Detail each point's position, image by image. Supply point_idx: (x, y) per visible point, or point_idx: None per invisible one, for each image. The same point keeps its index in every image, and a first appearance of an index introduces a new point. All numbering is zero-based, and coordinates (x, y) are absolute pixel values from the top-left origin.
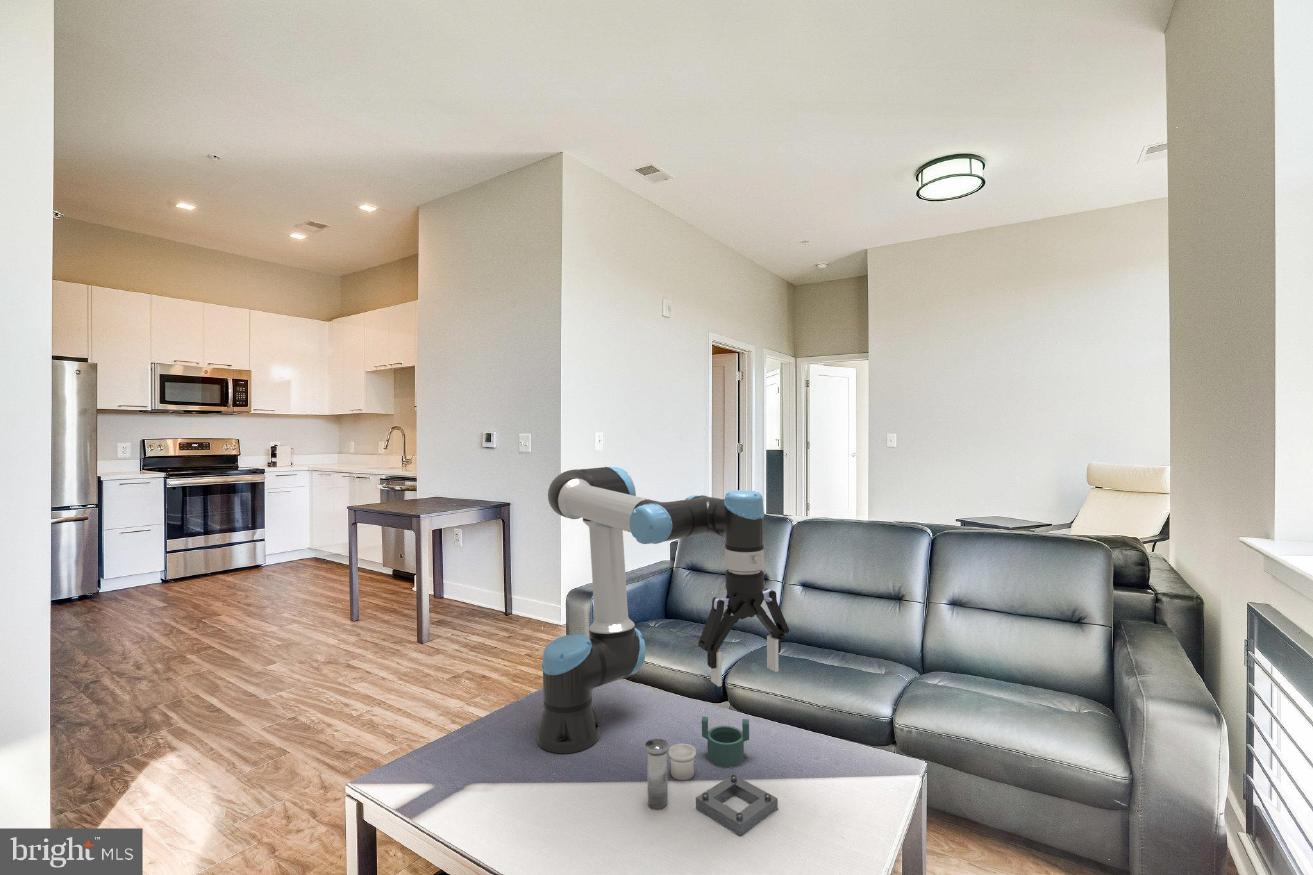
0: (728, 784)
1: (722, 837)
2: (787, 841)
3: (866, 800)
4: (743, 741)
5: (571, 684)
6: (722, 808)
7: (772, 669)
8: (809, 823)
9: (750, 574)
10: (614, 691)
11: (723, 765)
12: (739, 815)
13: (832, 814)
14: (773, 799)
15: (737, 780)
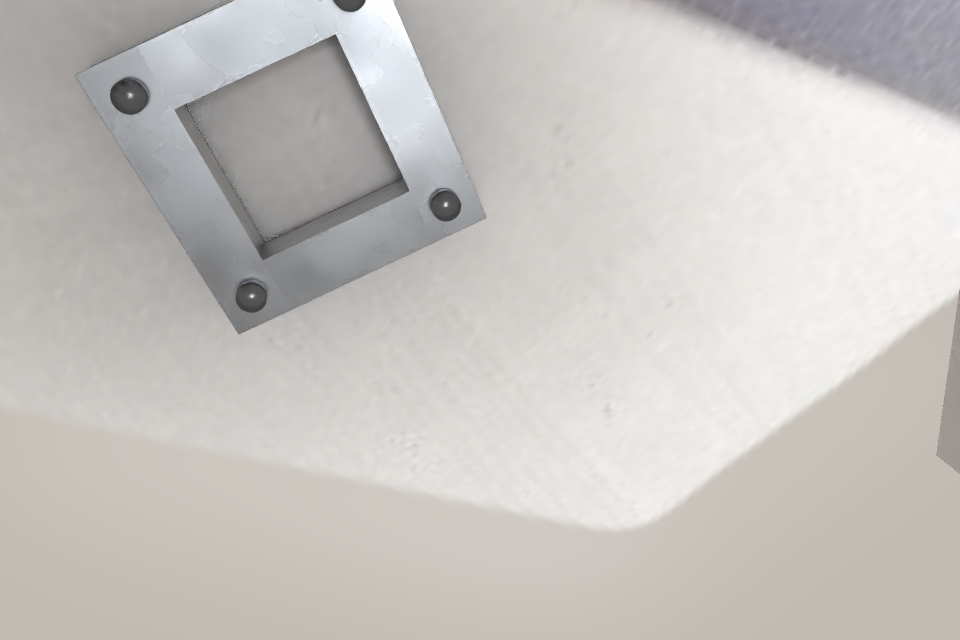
0: (300, 25)
1: (161, 297)
2: (410, 383)
3: (830, 262)
4: None
5: None
6: (194, 208)
7: (954, 403)
8: (546, 319)
9: None
10: None
11: None
12: (248, 304)
13: (658, 297)
14: (463, 221)
15: (364, 8)
